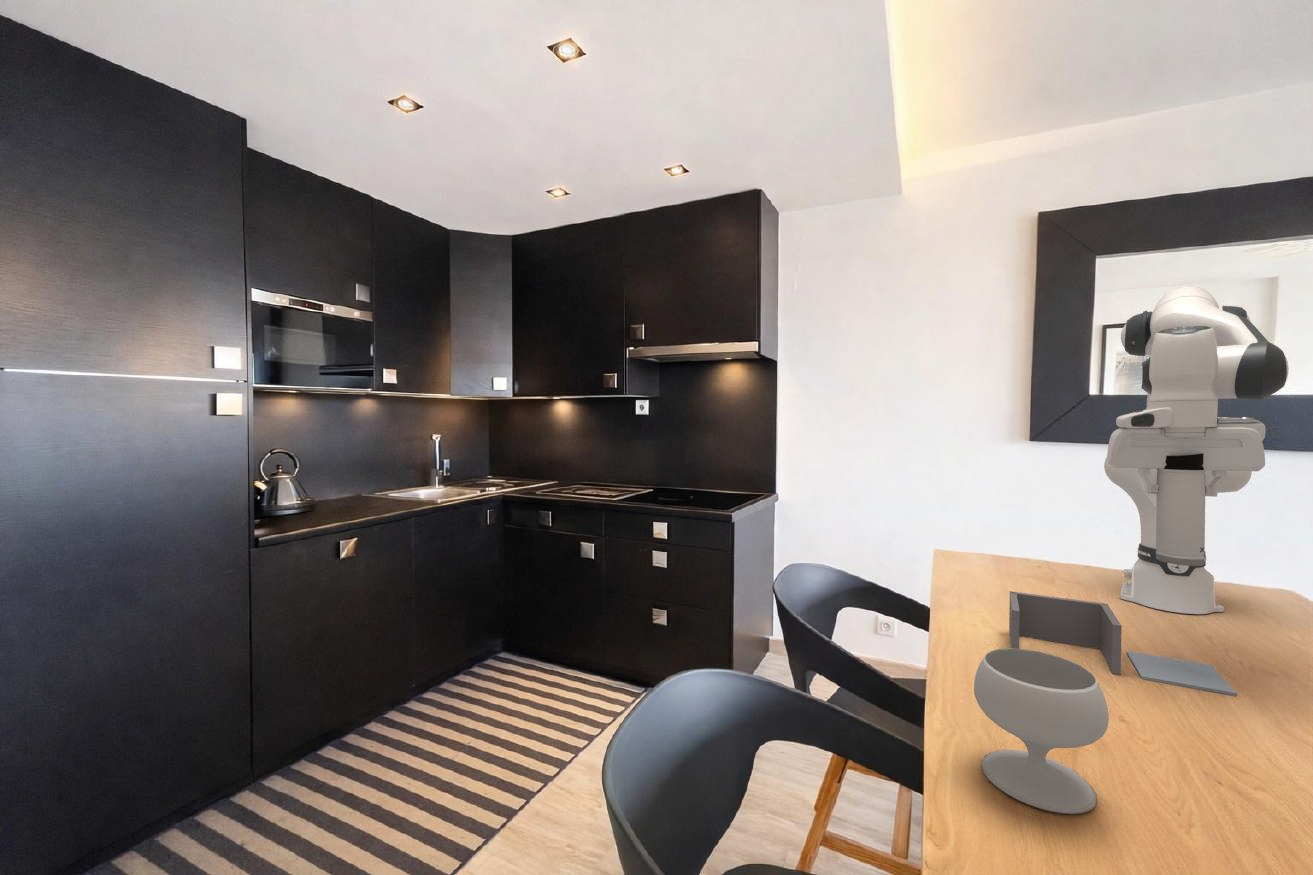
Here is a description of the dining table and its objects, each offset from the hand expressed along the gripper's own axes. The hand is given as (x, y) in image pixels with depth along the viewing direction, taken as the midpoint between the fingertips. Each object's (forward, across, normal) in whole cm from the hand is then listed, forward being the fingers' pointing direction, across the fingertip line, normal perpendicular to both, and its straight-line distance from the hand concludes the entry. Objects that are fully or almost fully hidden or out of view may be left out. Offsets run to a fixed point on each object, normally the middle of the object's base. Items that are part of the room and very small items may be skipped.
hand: (1180, 494), depth 97 cm
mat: (+32, 0, 0) cm, 32 cm away
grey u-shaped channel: (+32, +17, 0) cm, 37 cm away
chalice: (+32, +24, +48) cm, 63 cm away
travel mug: (+12, 0, 0) cm, 12 cm away
